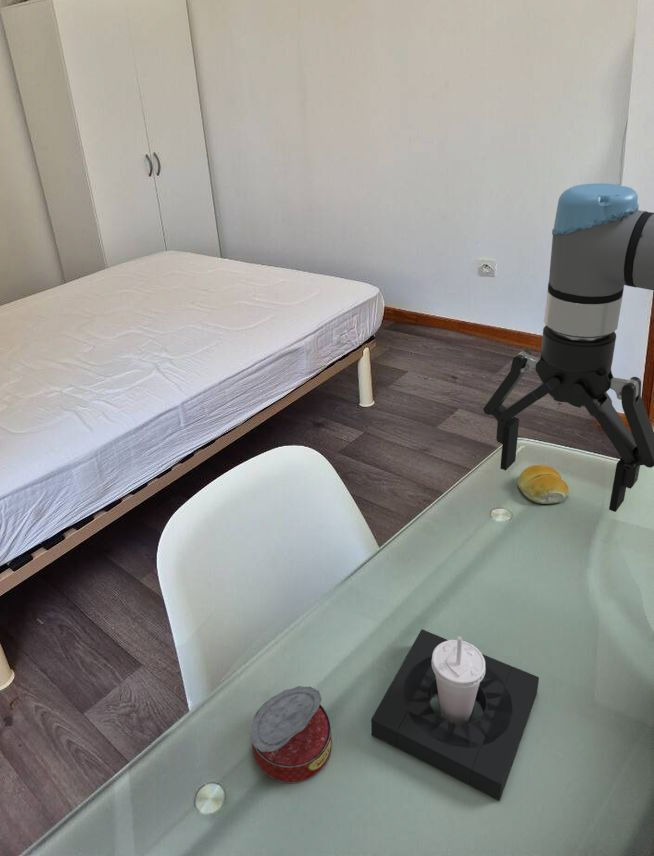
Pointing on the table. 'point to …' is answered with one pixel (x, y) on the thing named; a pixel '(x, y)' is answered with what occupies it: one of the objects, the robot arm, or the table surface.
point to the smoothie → (457, 678)
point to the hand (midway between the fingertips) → (559, 484)
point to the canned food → (292, 735)
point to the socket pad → (452, 742)
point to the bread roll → (542, 484)
